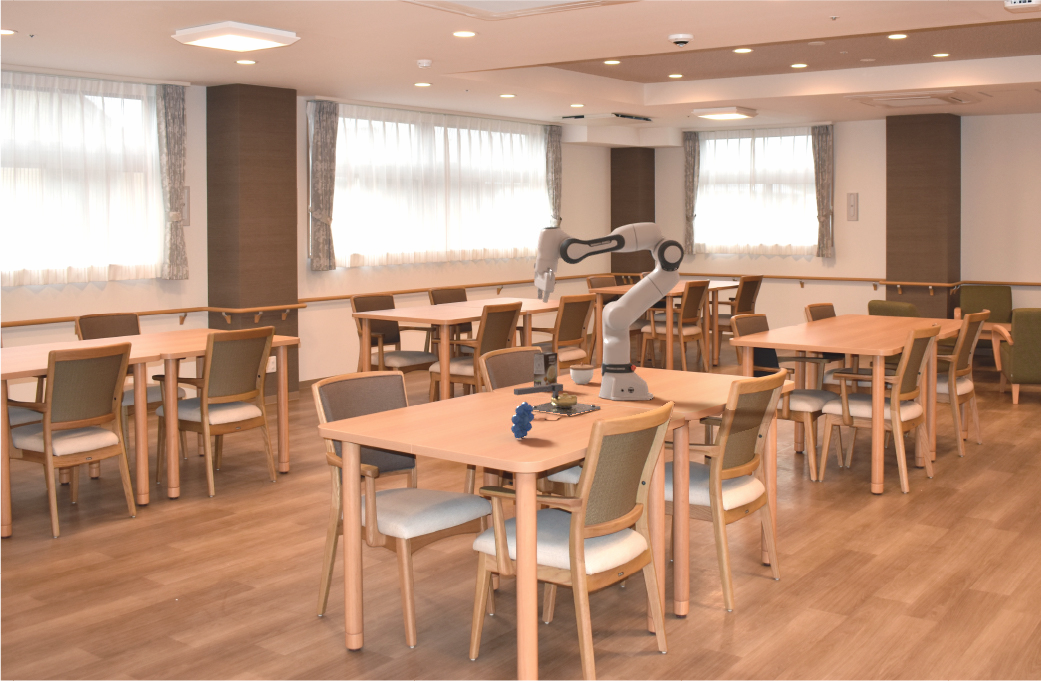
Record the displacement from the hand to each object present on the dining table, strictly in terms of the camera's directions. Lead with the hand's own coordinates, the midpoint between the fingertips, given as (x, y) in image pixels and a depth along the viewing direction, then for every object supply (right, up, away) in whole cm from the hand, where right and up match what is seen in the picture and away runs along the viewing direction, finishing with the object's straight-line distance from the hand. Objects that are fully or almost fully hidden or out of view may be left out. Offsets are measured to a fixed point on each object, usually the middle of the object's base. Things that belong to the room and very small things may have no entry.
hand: (542, 300), depth 392 cm
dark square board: (+8, -43, -21) cm, 48 cm away
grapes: (-9, -48, -73) cm, 88 cm away
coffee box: (+2, -38, +24) cm, 45 cm away
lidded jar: (+19, -36, +43) cm, 59 cm away
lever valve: (+1, -41, -27) cm, 49 cm away
